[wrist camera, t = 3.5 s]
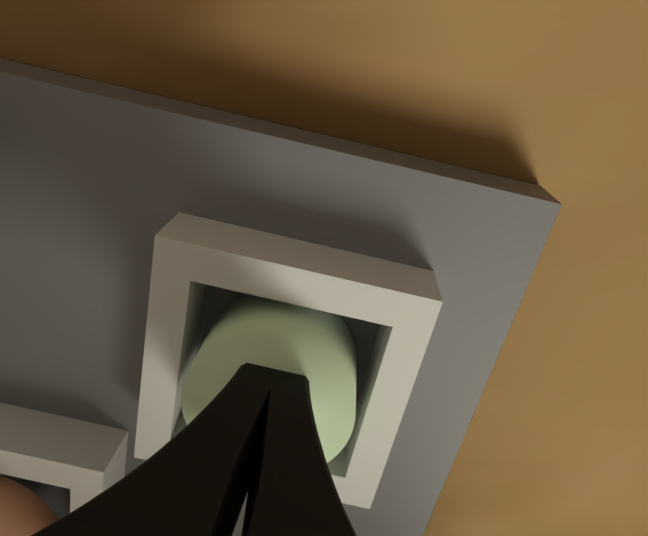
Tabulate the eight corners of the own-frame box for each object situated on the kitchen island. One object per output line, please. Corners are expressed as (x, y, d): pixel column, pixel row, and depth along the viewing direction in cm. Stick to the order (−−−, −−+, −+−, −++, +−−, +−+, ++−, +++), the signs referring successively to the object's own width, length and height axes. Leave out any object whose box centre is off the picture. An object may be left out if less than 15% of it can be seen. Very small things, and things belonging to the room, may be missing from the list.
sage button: (338, 430, 14) (333, 492, 12) (198, 399, 13) (172, 457, 12) (374, 308, 12) (375, 357, 10) (217, 272, 12) (191, 315, 10)
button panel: (376, 596, 19) (379, 694, 16) (-153, 481, 18) (-246, 561, 15) (540, 185, 13) (589, 228, 10) (-251, -2, 12) (-431, -12, 9)
